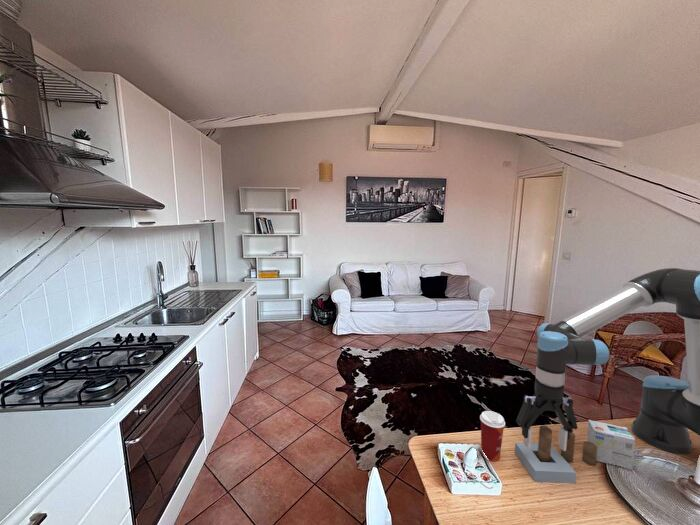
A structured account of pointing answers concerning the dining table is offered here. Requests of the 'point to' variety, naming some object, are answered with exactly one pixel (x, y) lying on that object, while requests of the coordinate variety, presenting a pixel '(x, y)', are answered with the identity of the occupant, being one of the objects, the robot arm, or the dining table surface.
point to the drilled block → (545, 465)
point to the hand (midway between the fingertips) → (544, 447)
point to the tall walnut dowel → (544, 444)
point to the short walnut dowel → (589, 453)
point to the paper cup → (491, 434)
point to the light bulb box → (612, 443)
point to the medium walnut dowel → (569, 449)
